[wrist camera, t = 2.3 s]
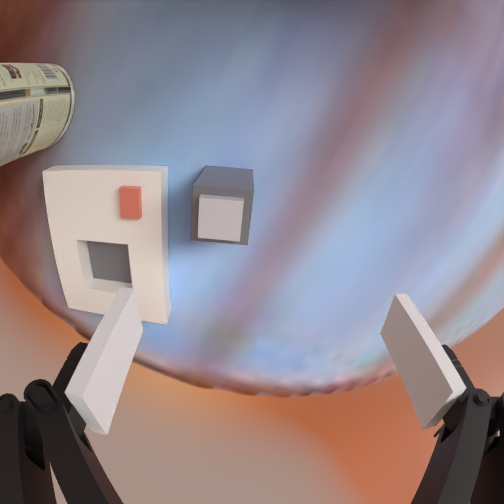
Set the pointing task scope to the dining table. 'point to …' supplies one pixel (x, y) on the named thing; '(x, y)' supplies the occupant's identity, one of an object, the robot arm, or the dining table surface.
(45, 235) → the dining table surface
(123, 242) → the socket plate
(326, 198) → the dining table surface
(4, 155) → the coffee can
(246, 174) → the plug
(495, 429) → the robot arm
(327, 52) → the dining table surface
